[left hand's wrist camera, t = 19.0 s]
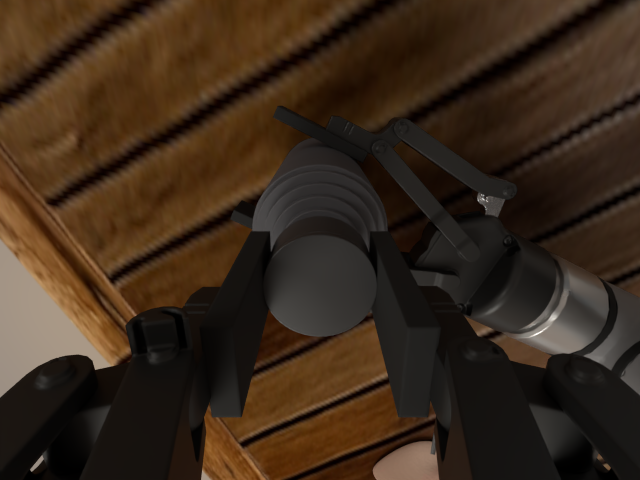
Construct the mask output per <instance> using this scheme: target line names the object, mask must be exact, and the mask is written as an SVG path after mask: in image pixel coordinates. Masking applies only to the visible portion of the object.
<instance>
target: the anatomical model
mask: <svg viewBox="0 0 640 480" xmlns="http://www.w3.org/2000/svg"><path fill="white" fill-rule="evenodd" d="M431 446H432V441H419V442H414V443H411V444H408V445H405V446H403V447H401V448H399V449H397V450H395V451H393V452H392V453H390V454H388V455H387V456H385V457H384V458H383V459H381V460H380V461H379V462H378V463H377V464H376V465H375V466H374V468H373V474H374V476H375V478H376V479H377V480H439V474H438V464H437V455H436V453H435V455H433V454H430V453H431Z"/></svg>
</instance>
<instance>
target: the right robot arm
mask: <svg viewBox="0 0 640 480" xmlns="http://www.w3.org/2000/svg"><path fill="white" fill-rule="evenodd" d="M273 117H274V118H276V119H278V120H279V121H281V122H283V123H285V124H287V125H289V126H291V127H293V128H295V129H297V130H299V131H301V132H303V133H305V134H307V135H309V136H311V137H313V138H315V139H317V140H319V141H321V142H323V143H325V144H327V145H329V146H330V147H332V148H334V149H336V150H338V151H340V152H342V153H344V154H346V155H348V156H350V157H352V158H354V159H356V160H358V161H360V162H362V163H363V161H364V159H365V158H366V156H367V154H368V153H370V154H372V155H373V156H374V157H375V158H376V159H377V161H378V162H379V163H380V164H381V165H382V166H383V167H384V168H385V170H386V171H387V172H388V173H389V174H390V175H391V176H392V178H393V179H394V180H395V181H396V182H397V183H398V184H399V185H400V187H401V188H402V189H403V190H404V191H405V192H406V193H407V195H408V196H409V197H410V198H411V199H412V200H413V201H414V202H415V204H416V205H417V206H418V207H419V208H420V209H421V210H422V212H423V213H424V214H425V215H426V216H427V217H428V218H429V220H430V221H431V222H432V223H431V222H428V224H427V226H426V227H425V229H424V231H423V234H422V237H421V239H420V241H418V242H417V243H416V244H415V245H414V246H413V248H412V249H411V251H410V252H409V253H408V252H400V253H401V254H402V256H403V258H404V260H405V262H406V264H407V265H408V267H409V269H410V271H411V273H412V275H413V277H414V278H415V280H416V282H417V284H418V286H438V287H440V288H441V289H443V290H444V291H446V292H447V293H449V294H450V296H451V297H452V299H453V300H454V302H455V305H457V306H458V308H459V309H460V311H461V313H462V314H463V315H464V316H466V317H468V318H470V319H472V320H474V321H477V322H479V323H481V324H483V325H485V326H488V327H490V328H492V329H494V330H497V331H500V332H503V333H504V334H505V335H507V336H509V337H511V338H514V339H516V340H518V341H520V342H523V343H525V344H527V345H530V346H532V347H534V348H536V349H539V350H541V351H543V352H545V353H547V354H549V355H551V356H553V355H555V354H560V353H567V354H576V355H581V356H584V357H587V358H590V359H592V360H594V361H596V362H598V363H600V364H602V365H604V366H605V367H607V368H608V369H609V370H611V371H612V372H614V373H615V374H616V375H617V376H618V377H620V378H621V379H622V380H623V381H624V382H625V383H626V384H628V385H629V386H630V387H631V388H632V389H633V390H634V391H636V392H637V393H638V394H639V395H640V298H639V297H637V296H635V295H633V294H631V293H629V292H627V291H625V290H623V289H621V288H619V287H617V286H615V285H612V284H610V283H608V282H606V281H604V280H602V279H601V278H599V277H598V276H596V275H594V274H592V273H591V272H589V271H587V270H585V269H583V268H581V267H579V266H577V265H575V264H573V263H571V262H569V261H567V260H565V259H564V258H562V257H560V256H558V255H556V254H553V253H551V252H548V251H547V250H545V249H544V248H542V247H540V246H538V245H536V244H534V243H532V242H531V241H529V240H527V239H525V238H523V237H521V236H519V235H517V234H515V233H513V232H511V231H509V230H507V229H505V227H504V226H503V224H502V222H501V221H500V219H499V218H498V216H499V213H500V211H501V208H502V206H503V204H504V201H505V200H509V199H512V198H513V197H514V196H515V195H516V193H517V186H516V185H515V184H513V183H511V182H509V181H506V180H504V179H501V178H499V177H497V176H493V175H489V174H484V173H482V172H481V171H479V170H478V169H477V168H475V167H474V166H472V165H471V164H470V163H468V162H467V161H465V160H464V159H463V158H461V157H460V156H458V155H457V154H456V153H454V152H453V151H452V150H450V149H449V148H447V147H446V146H445V145H443V144H442V143H440V142H439V141H438V140H436V139H435V138H433V137H432V136H431V135H429V134H428V133H426V132H425V131H424V130H422V129H421V128H419V127H418V126H417V125H415V124H414V123H412V122H411V121H410V120H408V119H405V118H399V117H395V118H392V119H391V120H390V121H389V123H388V124H387V125H386V126H385V127H384V128H383V129H382V130H381V131H379V132H377V133H371V132H368V131H366V130H364V129H362V128H361V127H359V126H357V125H355V124H353V123H351V122H349V121H347V120H345V119H343V118H342V117H340V116H331V118H330V120H329V122H328V124H327V126H326V128H324V127H322V126H320V125H318V124H316V123H314V122H313V121H311V120H309V119H307V118H305V117H303V116H301V115H299V114H297V113H295V112H293V111H291V110H289V109H287V108H285V107H284V106H278V107H277V109H276V111H275V114H274V116H273ZM400 141H402V142H404V143H405V144H407V145H408V146H409V147H411V148H412V149H414V150H415V151H417V152H418V153H419V154H421V155H422V156H424V157H425V158H427V159H428V160H429V161H431V162H432V163H434V164H435V165H437V166H438V167H439V168H441V169H442V170H444V171H445V172H447V173H448V174H449V175H451V176H452V177H454V178H455V179H457V180H458V181H459V182H461V183H463V184H464V185H466V186H468V187H470V188H472V189H473V193H472V197H473V199H474V200H475V201H477V202H479V204H480V206H481V209H480V211H475V212H469V213H463V214H457V215H450V214H449V213H448V212H447V211H446V210H445V209H444V208H443V207H442V205H441V204H440V203H439V202H438V201H437V200H436V198H435V197H434V196H433V195H432V194H431V193H430V191H429V190H428V189H427V188H426V187H425V186H424V184H423V183H422V182H421V181H420V180H419V179H418V177H417V176H416V175H415V174H414V173H413V172H412V170H411V169H410V168H409V167H408V166H407V165H406V163H405V162H404V161H403V160H402V159H401V158H400V156H399V155H398V154H397V153H396V152H395V151H394V149H393V148H394V147H395V146H396V145H397V144H398V143H399V142H400ZM255 209H256V206H253V205H251V204H249V203H247V202H245V201H243V200H242V201H241V202H240V203H239V205H238V206H237V207H236V208H235V209H234V211H233V214H232V216H231V218H230V219H231V220H233V221H235V222H238V223H240V224H242V225H244V226H246V227H249V228H251V229H252V225H253V216H254V212H255ZM369 312H371V313H372V309H371V310H370V311H369Z"/></svg>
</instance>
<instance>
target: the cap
mask: <svg viewBox="0 0 640 480" xmlns="http://www.w3.org/2000/svg"><path fill="white" fill-rule="evenodd" d="M263 290H264V298H265V301H266V304H267V306H268V308H269V309H270V311H271V313H272V314H273V315H274V316H275V318H276V319H277V320H278V321H280V322H281V323H282V324H283V325H285V326H286V327H288V328H289V329H291V330H293V331H296V332H298V333H301V334H305V335H310V336H330V335H335V334H339V333H342V332H344V331H347V330H349V329H351V328H352V327H354V326H355V325H357V324H358V323H359V322H360V321H362V320H363V319H364V318H365V316H366V315H367V314H368V313H369V311H370V310H371V308H372V306H373V304H374V301H375V298H376V291H377V276H376V272H375V269H374V266H373V263H372V260H371V257H370V254H369V251H368V248H367V245H366V243H365V241H364V240H363V238H362V236H361V235H360V234H359V233H358V232H357V231H356V230H355V229H354V228H353V227H352V226H350V225H349V224H347V223H345V222H343V221H341V220H339V219H336V218H332V217H326V216H314V217H308V218H304V219H301V220H299V221H297V222H295V223H293V224H291V225H290V226H288V227H287V228H286V229H285V230H284V231H283V232H282V233H281V234H280V235H279V237H278V238H277V239H276V241H275V243H274V245H273V248H272V251H271V254H270V257H269V260H268V263H267V266H266V269H265V272H264V276H263Z"/></svg>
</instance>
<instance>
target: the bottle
mask: <svg viewBox="0 0 640 480" xmlns="http://www.w3.org/2000/svg"><path fill="white" fill-rule="evenodd" d="M314 216H326V217H332V218H336V219H339V220H341V221H343V222H345V223H347V224H349V225H350V226H352V227H353V228H354V229H355V230H356V231H357V232H358V233H359V234H360V235H361V236H362V238H363V240H364V241H365V243H366V245H367V248H368V251H369V242H370V231H388V226H387V217H386V212H385V209H384V206H383V204H382V202H381V200H380V197H379V196H378V194H377V193H376V191H375V190H374V188H373V186H372V185H371V183H370V182H369V180H368V179H367V177H366V175H365V174H364V172H363V171H362V169H361V168H360V166H359V165H358V163H357V161H356V160H355V159H354V158H352V157H350V156H348V155H346V154H344V153H342V152H340V151H338V150H336V149H334V148H332V147H330V146H329V145H327V144H325V143H323V142H321V141H319V140H317V139H315V138H309V139H306V140H304V141H302V142H300V143H299V144H297V145H296V146H295V147H294V148H293V149H292V150H291V151H290V152H289V154H288V155H287V157H286V158H285V160H284V161H283V163H282V164H281V166H280V168H279V169H278V171H277V172H276V174H275V175H274V177H273V179H272V180H271V182H270V183H269V185H268V186H267V188H266V190H265V191H264V193H263V194H262V196H261V198H260V199H259V201H258V204H257V206H256V209H255V212H254V216H253V225H252V230H253V231H270V241H271V251H272V248H273V245H274V243H275V241H276V239H277V238H278V237H279V235H280V234H281V233H282V232H283V231H284V230H285V229H286V228H287V227H288V226H290V225H291V224H293V223H295V222H297V221H299V220H301V219H304V218H308V217H314Z"/></svg>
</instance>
